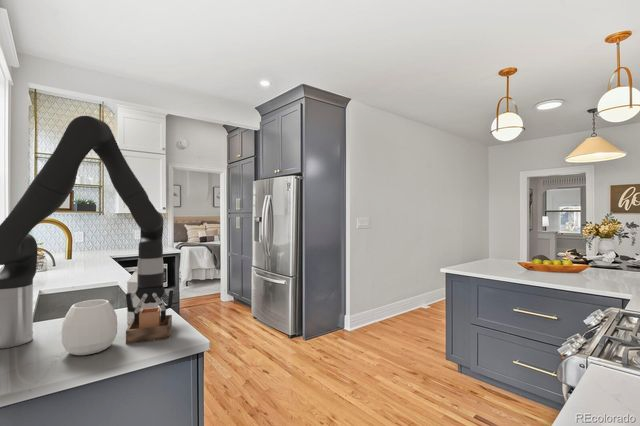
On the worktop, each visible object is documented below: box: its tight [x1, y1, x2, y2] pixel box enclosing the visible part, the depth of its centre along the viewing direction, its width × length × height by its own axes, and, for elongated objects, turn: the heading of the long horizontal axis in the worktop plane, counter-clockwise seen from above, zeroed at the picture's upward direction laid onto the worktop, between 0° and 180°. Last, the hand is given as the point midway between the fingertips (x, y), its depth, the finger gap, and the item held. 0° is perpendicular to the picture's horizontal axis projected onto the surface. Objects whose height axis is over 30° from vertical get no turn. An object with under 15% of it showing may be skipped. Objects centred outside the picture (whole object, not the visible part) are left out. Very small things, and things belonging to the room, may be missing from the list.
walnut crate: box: [125, 314, 173, 345], centre depth 106 cm, size 12×12×4 cm
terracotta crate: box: [139, 306, 161, 329], centre depth 106 cm, size 6×6×7 cm
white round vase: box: [61, 299, 118, 356], centre depth 94 cm, size 13×13×14 cm
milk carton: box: [126, 268, 159, 325], centre depth 119 cm, size 7×7×19 cm
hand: (150, 322), depth 106 cm, fingers open, 6 cm apart
